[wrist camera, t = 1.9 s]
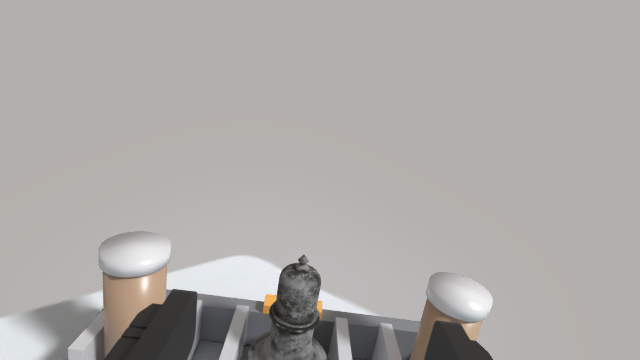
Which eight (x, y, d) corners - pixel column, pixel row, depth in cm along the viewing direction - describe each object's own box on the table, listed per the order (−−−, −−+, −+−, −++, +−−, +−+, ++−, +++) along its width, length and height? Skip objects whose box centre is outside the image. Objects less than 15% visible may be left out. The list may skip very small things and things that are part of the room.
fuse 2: (402, 433, 26) (441, 304, 23) (390, 384, 30) (422, 268, 27) (458, 439, 26) (505, 312, 23) (439, 390, 30) (476, 276, 27)
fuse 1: (89, 399, 25) (83, 257, 21) (121, 352, 29) (120, 228, 25) (151, 406, 25) (154, 267, 22) (174, 359, 29) (180, 236, 26)
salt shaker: (275, 352, 31) (294, 227, 28) (334, 390, 28) (362, 256, 25) (225, 399, 26) (240, 253, 23) (290, 449, 23) (318, 293, 20)
